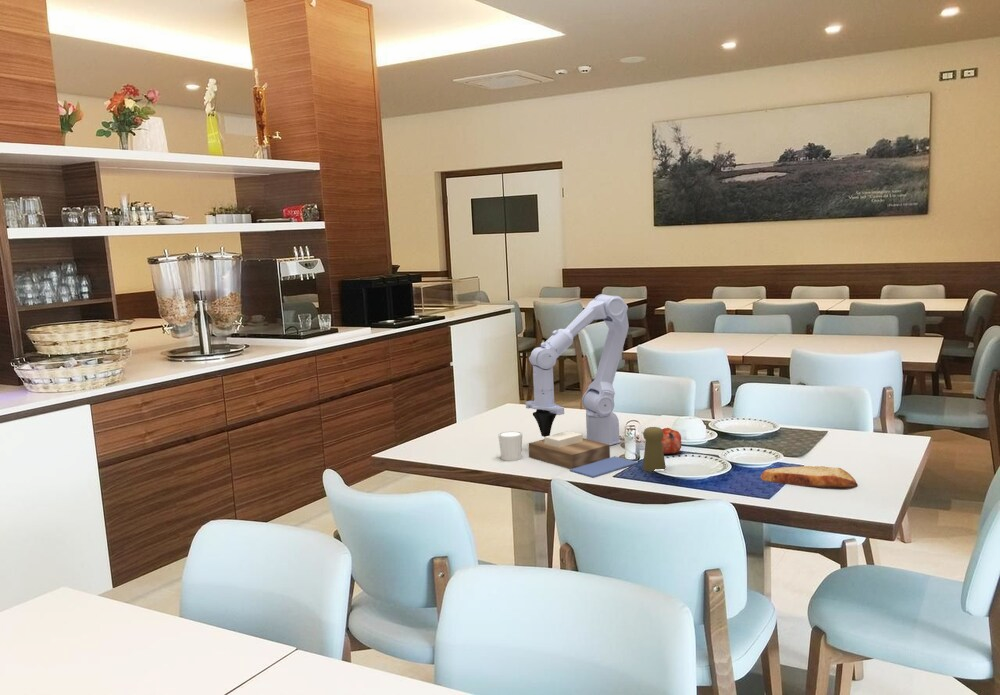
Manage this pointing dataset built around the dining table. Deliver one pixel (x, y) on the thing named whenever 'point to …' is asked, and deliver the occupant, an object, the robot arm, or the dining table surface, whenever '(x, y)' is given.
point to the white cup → (510, 445)
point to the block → (563, 439)
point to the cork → (653, 449)
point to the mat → (603, 466)
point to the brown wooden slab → (570, 453)
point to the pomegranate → (671, 441)
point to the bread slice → (810, 476)
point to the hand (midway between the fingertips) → (545, 435)
